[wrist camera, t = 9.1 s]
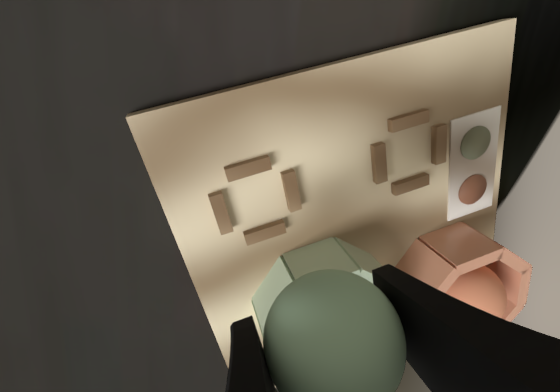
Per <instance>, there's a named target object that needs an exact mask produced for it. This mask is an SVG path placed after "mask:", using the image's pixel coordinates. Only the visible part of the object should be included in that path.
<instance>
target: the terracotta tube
mask: <svg viewBox="0 0 560 392" xmlns="http://www.w3.org/2000/svg"><path fill="white" fill-rule="evenodd" d="M482 266H486V267H488V268H489V269H491V270H492V271H493V272H494V273H495V274H496V275H497V276H498V277H499V279H500V280H501V282H502V284H503V285H504V288H505V291H506V295H507V306H506V310H505V313H504V315H503V317H502V319H504V320H507V321H509V322H511V321H512V320H513V319H514V318H515V317H516V316H517V315H518V313H519V312H520V311H521V310H522V309H523V308H524V305H525V304H526V301H527V296H528V290H529V284H530V279H531V273H532V265H531V264H529V263H527V262H526V261H525V260H523V259H522V258H520V257H519V256H517V255H516V254H514V253H513V252H511V251H510V250H508V249H507V248H505V247H503V246H502V245H500V244H498V243H497V242H495V241H493V240H492V239H490V238H489V237H487V236H485V235H484V234H482V233H480V232H479V231H477V230H475V229H474V228H472V227H470V226H469V225H467V224H466V223H464V222H457V223H455V224H452V225H449V226H446V227H444V228H441V229H438V230H435V231H433V232H430V233H427V234H424V235H422V236H419V239H417V238H416V239H415V241H414V242H413V243H412V245H411V246H410V247H409V249H408V250H407V251H406V253H405V254H404V255H403V257H402V258H401V259H400V261H399V262H398V263H397V265H396V266H395V267H396V268H398V269H400V270H402V271H404V272H405V273H407V274H409V275H411V276H413V277H415V278H417V279H419V280H421V281H422V282H424V283H426V284H428V285H430V286H432V287H434V288H436V289H438V290H440V291H442V292H444V293H446V292H447V291H448V289H449V288H450V287H451V286H452V284H453V283H454V282H455V281H456V279H457V278H458V277H459V276H460V275H462V274H465V273H467V272H470V271H472V270H475V269H477V268H480V267H482Z"/></svg>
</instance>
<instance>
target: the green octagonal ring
mask: <svg viewBox="0 0 560 392" xmlns="http://www.w3.org/2000/svg"><path fill="white" fill-rule="evenodd" d="M282 255H283V257H281V256H279V257H278V259H277V260H276V262H275V263H274V265H273V267H272V268H271V270H270V271H269V273H268V274H267V276H266V277H265V279H264V280H263V282H262V283H261V285H260V286H259V288H258V289H257V291H256V292H255V294H254V295H253V297H252V300H251V301H252V305H253V308H254V311H255V314H256V317H257V321H258V324H259V327H260V330H261V334H262V337H263V334H264V326H265V322H266V318H267V315H268V312H269V310H270V308H271V306H272V304H273V303H274V301H275V299H276V298H277V296H278V295H279V294H280V292H281V291H282V290H283V289H284V288H285V287H286V286H287V285H289V284H290V283H291V282H293V281H294V280H295V279H297V278H299V277H301V276H303V275H305V274H307V273H310V272H313V271H318V270H325V269H335V270H343V271H347V272H351V273H354V274H357V275H359V276H361V277H363V278H365V279H367V280H368V281H370V282H371V283H372V284H373V277H372V270H373V269H376V268H379V267H381V266H382V265H381V264H380V263H379V262H378V261H377V260H376V259H375V258H374V256H373V255H372V254H370V253H368V252H366V251H364V250H361V249H359V248H357V247H355V246H353V245H351V244H349V243H347V242H345V241H343V240H341V239H339V238H337V237H334V238H333V237H330V238H327V239H324V240H321V241H318V242H315V243H312V244H310V245H307V246H304V247H301V248H298V249H295V250H292V251H289V252H286V253H284V254H282Z"/></svg>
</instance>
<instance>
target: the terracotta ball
mask: <svg viewBox="0 0 560 392" xmlns="http://www.w3.org/2000/svg"><path fill="white" fill-rule="evenodd" d="M446 294H448V295H450V296H452V297H454V298H456V299H458V300H461V301H463V302H465V303H467V304H469V305H471V306H474V307H476V308H478V309H481V310H483V311H485V312H487V313H490V314H492V315H494V316H497V317H499V318H502V317H503V315H504V313H505V310H506V306H507V295H506V291H505V288H504V285H503V284H502V282H501V280H500V279H499V277H498V276H497V275H496V274H495V273H494V272H493V271H492V270H491V269H489V268H488V267H486V266H482V267H480V268H477V269H475V270H472V271H470V272H467V273H465V274H462V275H460V276H459V277H458V278H457V279H456V281H455V282H454V283H453V284H452V286H451V287H450V288H449V289H448V291H447V292H446Z"/></svg>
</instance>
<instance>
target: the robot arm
mask: <svg viewBox="0 0 560 392" xmlns="http://www.w3.org/2000/svg"><path fill="white" fill-rule="evenodd" d="M372 277H373V284H374V285H375V286H376V287H378V288H379V289H380V290H381V291H382V292H383V293H384V294H385V295H386V297H387V298H388V299H389V300H390V302H391V303H392V305H393V306H394V308H395V310H396V312H397V314H398V315H399V318H400V320H401V323H402V326H403V329H404V334H405V339H406V360H407V361H408V363H409V364H410V365H411V366H412V367H413V369H414V370H415V371H416V373H417V374H418V375H419V377H420V378H421V379H422V380H423V382H424V383H425V384H426V385H427V387H428V388H429V389H430V390H431V391H432V392H560V339H557V338H554V337H551V336H548V335H545V334H542V333H539V332H536V331H534V330H531V329H528V328H526V327H523V326H520V325H518V324H515V323H512V322H509V321H507V320H504V319H502V318H499V317H497V316H494V315H492V314H490V313H487V312H485V311H483V310H481V309H478V308H476V307H474V306H471V305H469V304H467V303H465V302H463V301H461V300H458V299H456V298H454V297H452V296H450V295H448V294H446V293H444V292H442V291H440V290H438V289H436V288H434V287H432V286H430V285H428V284H426V283H424V282H422V281H421V280H419V279H417V278H415V277H413V276H411V275H409V274H407V273H405V272H404V271H402V270H400V269H398V268H396V267H394V266H392V265H390V264H387V265H384V266H381V267H379V268H376V269H373V270H372ZM230 332H231V343H230V358H229V369H228V376H227V384H226V391H225V392H277V391H276V388H275V384H274V382H273V381H272V379H271V376H270V374H269V371H268V367H267V364H266V360H265V355H264V350H263V347H262V344H261V341H260V338H259V335H258V332H257V329H256V326H255V323H254V320H253V317H252V315H251V316H249V317H246V318H243V319H241V320H238V321H235V322H233V323H232V325H231V326H230Z"/></svg>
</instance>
